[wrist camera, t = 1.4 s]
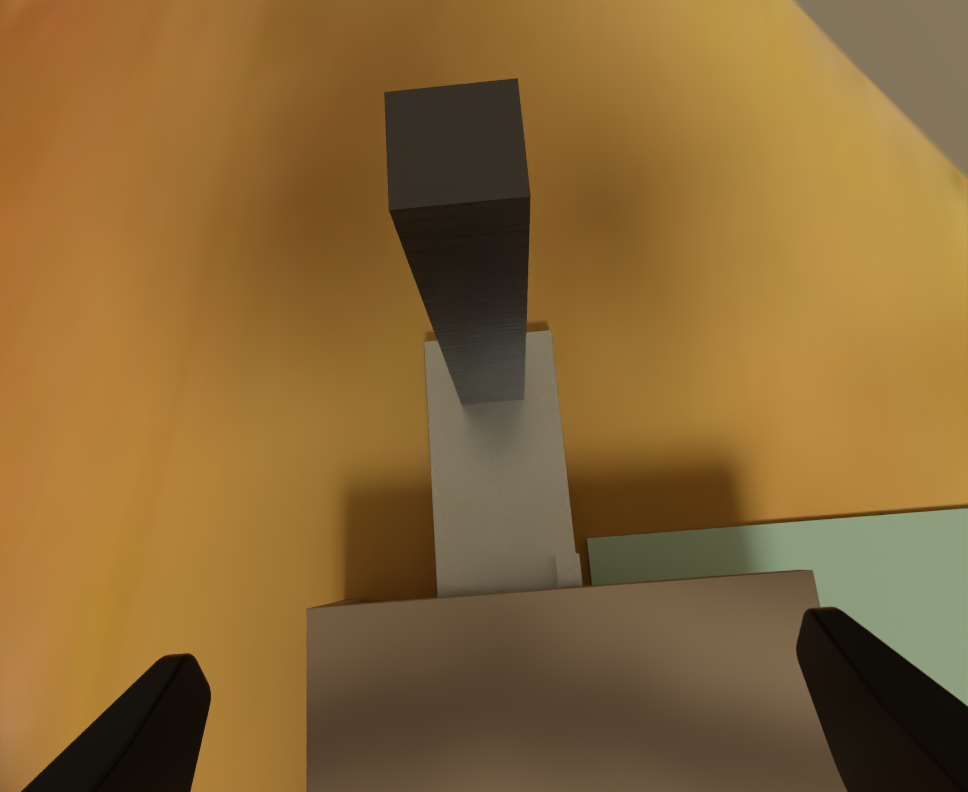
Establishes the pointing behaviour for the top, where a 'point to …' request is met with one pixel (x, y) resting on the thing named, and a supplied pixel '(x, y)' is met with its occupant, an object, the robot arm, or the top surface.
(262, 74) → the top surface
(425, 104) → the grey l-shaped block
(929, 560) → the mat
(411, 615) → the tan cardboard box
